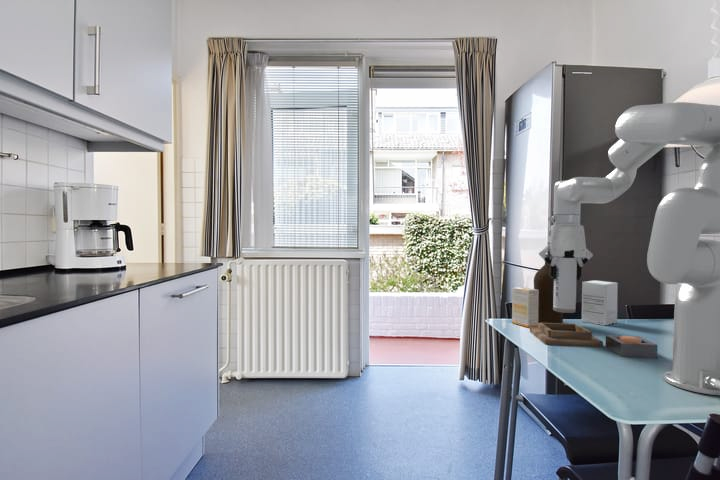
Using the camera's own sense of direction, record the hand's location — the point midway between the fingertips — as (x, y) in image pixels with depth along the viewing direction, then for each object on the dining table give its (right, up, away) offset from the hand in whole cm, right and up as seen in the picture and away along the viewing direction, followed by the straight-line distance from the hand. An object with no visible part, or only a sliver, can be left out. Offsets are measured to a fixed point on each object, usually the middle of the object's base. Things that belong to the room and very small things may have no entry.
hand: (564, 278), depth 131 cm
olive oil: (+6, -19, +24) cm, 31 cm away
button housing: (+11, -19, -14) cm, 26 cm away
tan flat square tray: (0, -19, 0) cm, 19 cm away
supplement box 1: (-5, -19, +19) cm, 27 cm away
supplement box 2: (+25, -19, +26) cm, 40 cm away
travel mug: (0, -10, 0) cm, 10 cm away
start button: (+11, -18, -14) cm, 25 cm away
